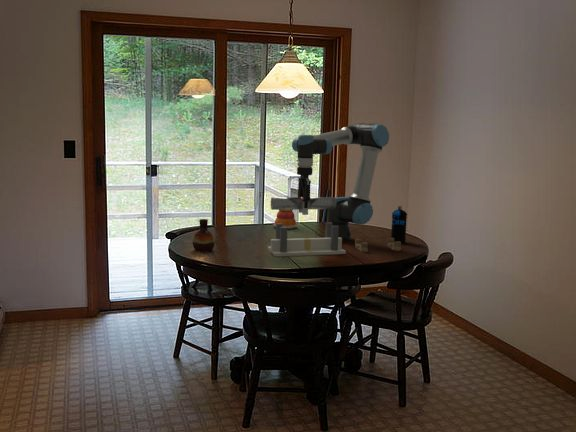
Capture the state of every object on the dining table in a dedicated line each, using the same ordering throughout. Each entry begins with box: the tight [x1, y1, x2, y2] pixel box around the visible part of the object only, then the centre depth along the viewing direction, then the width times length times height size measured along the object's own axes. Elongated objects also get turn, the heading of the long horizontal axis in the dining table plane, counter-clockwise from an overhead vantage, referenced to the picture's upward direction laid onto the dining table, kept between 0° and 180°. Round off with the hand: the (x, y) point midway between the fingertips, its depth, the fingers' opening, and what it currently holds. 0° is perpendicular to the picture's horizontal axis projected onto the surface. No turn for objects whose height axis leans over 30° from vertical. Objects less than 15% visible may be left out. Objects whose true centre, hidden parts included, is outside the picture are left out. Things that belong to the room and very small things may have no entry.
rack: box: [354, 237, 402, 253], centre depth 318 cm, size 10×21×4 cm, turn 104°
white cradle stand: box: [267, 221, 347, 257], centre depth 308 cm, size 16×36×14 cm, turn 104°
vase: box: [191, 218, 216, 253], centre depth 305 cm, size 11×11×15 cm
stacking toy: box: [273, 195, 298, 230], centre depth 371 cm, size 14×14×20 cm
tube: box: [270, 196, 336, 211], centre depth 304 cm, size 32×6×6 cm, turn 105°
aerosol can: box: [390, 205, 408, 244], centre depth 335 cm, size 8×8×20 cm
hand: (303, 213), depth 305 cm, fingers closed on tube, 6 cm apart
